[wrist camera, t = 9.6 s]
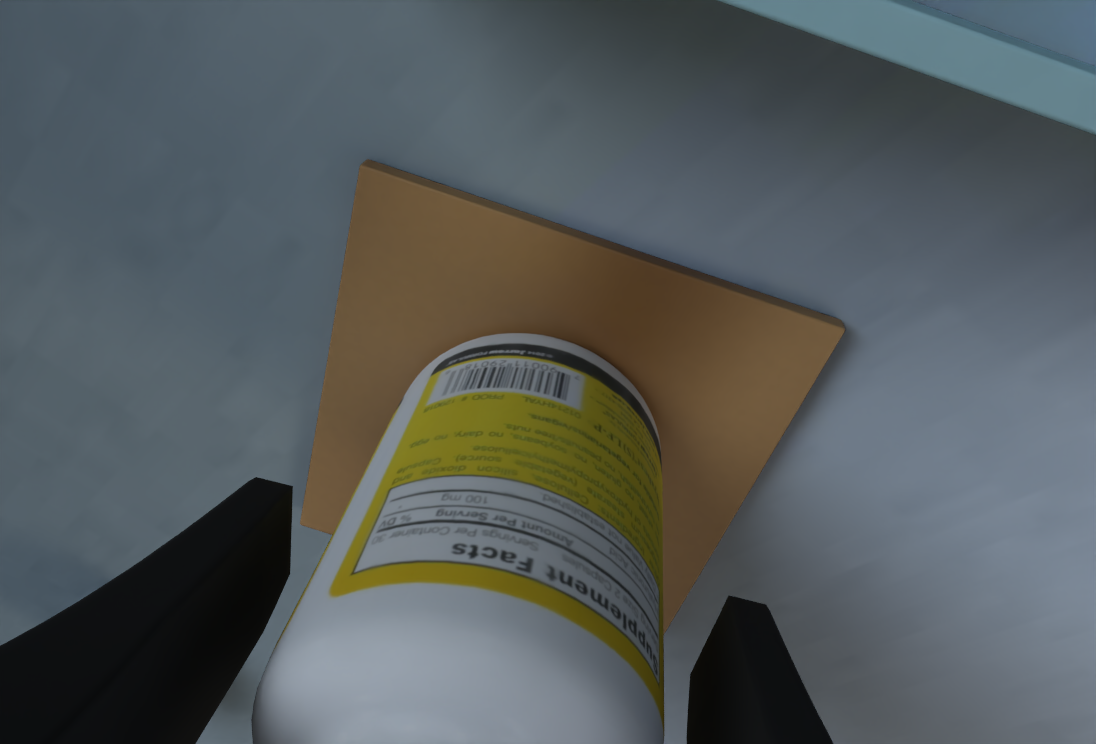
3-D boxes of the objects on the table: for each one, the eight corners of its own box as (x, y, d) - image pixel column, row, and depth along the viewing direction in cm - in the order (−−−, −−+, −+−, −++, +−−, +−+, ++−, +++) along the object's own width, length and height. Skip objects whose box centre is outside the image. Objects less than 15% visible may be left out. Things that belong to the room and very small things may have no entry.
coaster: (843, 319, 14) (847, 329, 14) (661, 627, 19) (661, 640, 18) (367, 157, 14) (359, 163, 13) (306, 514, 18) (299, 525, 18)
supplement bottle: (530, 572, 18) (409, 1154, 10) (351, 422, 16) (22, 966, 8) (721, 458, 15) (780, 1103, 7) (534, 268, 14) (333, 818, 6)
